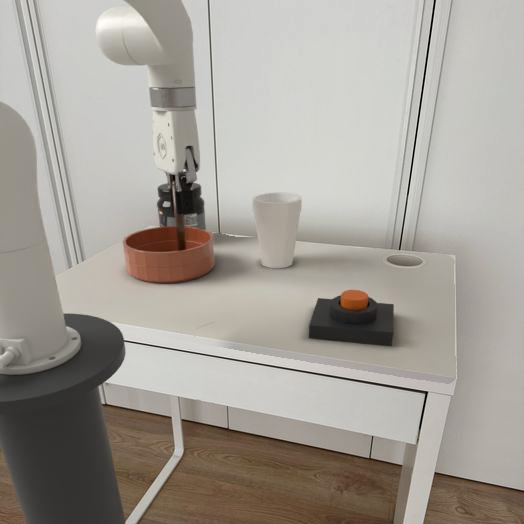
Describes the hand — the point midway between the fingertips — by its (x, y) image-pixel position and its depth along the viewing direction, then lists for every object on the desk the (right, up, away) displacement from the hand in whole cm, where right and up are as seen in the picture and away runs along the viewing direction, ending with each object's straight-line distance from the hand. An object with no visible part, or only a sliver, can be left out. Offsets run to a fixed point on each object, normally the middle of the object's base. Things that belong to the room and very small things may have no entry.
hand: (182, 210), depth 95 cm
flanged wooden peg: (-1, -9, +5) cm, 10 cm away
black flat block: (+28, -22, -15) cm, 39 cm away
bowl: (-4, -9, +9) cm, 13 cm away
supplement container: (-3, 0, +25) cm, 25 cm away
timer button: (+28, -19, -17) cm, 38 cm away
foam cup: (+18, -8, +11) cm, 22 cm away
